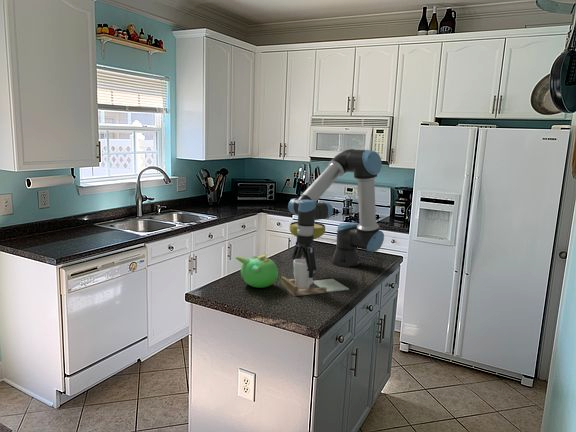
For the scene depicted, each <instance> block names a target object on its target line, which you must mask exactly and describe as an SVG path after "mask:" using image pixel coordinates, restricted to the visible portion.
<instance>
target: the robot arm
mask: <svg viewBox="0 0 576 432" xmlns="http://www.w3.org/2000/svg"><path fill="white" fill-rule="evenodd" d="M381 170H382V158H381V155H380V154H379V153H378V152H377V151H375V150H370V149H354V148H351V149H345V150H343V151H342V152H340V153H338V154H336V155H335V156H333V158H332V159H330V160H329V162H328V164H327V167H325V169H324V170H323V171H322V173H320V175H319V176H318V177H317V178H316V179H315V180H314V181H313V182H311V183H310V185H309V186H308V187H307V188H306V189H305V190H304V191H303V192H302V194H301V195H300V196H299V197H298V198H297V197H295V198H291V199H290V201H289V202H288V205H287V209H288V211H289V212H290V213H291V214H294V215H295V216H297V222H298V227H297V233H298V234H297V237H296V241H295V246H294V248H293V252H292V256H291V259H292V261H294V260H295V259H302V257H304V259H306V263H307V267H308V269H307V280H306V284H307V285H310V286H311V285H313V281H314V280H313V279H314V274H313V271H317V265H316V256H315V248H314V247H311V245H312V244H314V240H313V237H314V236H313V234H314V222H316V221H318V220H319V221H320V220H327V219H330V218H331V217H332V216H333V213H334V207H333V205H332V204H331V203H330V202H323V201H322V202H317V201H318V200H319V199H320V198H321V197H322V196H323V195H324V194H325V192H326V191H327V190H328V189H329V188H330V187H331V186H332V185H333V183H335V181H336V180H337V179H338V178H339V177H342V176H343V175H345V174H346V173H348V172H351V173H353V178H354V179H355V180H356V183H357V184H356V185H357V200H358V218H359V220H358V221H359V223H358V222H341V223H339V224H338V225H337V230H336V246H335V251H334V252H333V256H332V258H331V263H332V264H333V265H335V266H339V267H346V268H351V267H350V266H355V267H357V266H356V265H358V264H359V265H360V257H359V254H358V249H360V250H364V251H366V252H372V253H373V252H375V253H376V252H377V251H379V250H380V249H381V247H382V246H383V244H384V239H385V234H384V232H383V231H382V230H380V225H379V224H378V223H377V215H376V194H375V193H376V188H375V179H377V177H378V174H379V173H380V172H381ZM359 265H358V266H359ZM292 275H293V276H294V272H293V274H292Z"/></svg>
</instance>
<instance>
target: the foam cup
mask: <svg viewBox="0 0 576 432" xmlns="http://www.w3.org/2000/svg"><path fill="white" fill-rule="evenodd" d="M292 265H293V266H292V267H293V273H294V275H293V276H294V279H295V285H296V286H297V287H298V290H301V289H310V286H311V284H310V285H307V284H306V280H307V269H308V267H307V263H306V259H305V258H300V259H295V260H293V264H292Z"/></svg>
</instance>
